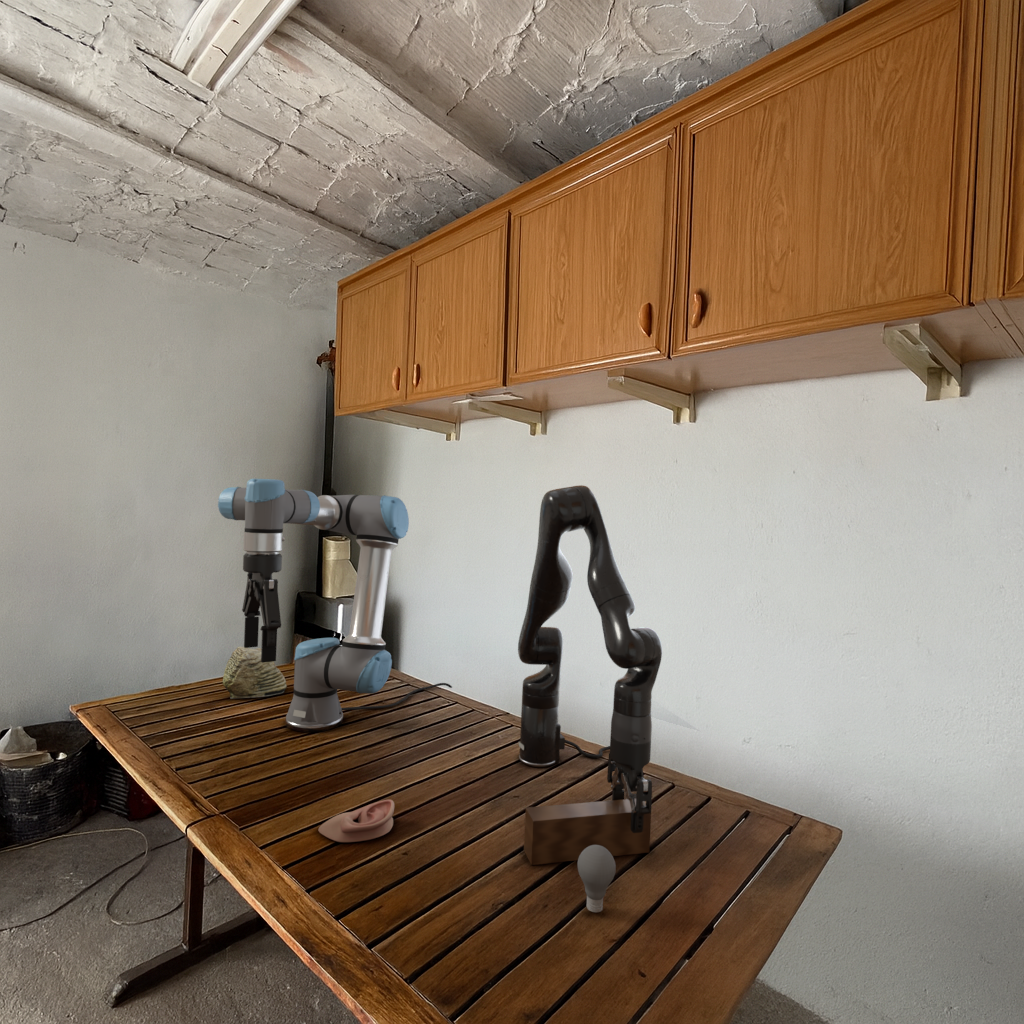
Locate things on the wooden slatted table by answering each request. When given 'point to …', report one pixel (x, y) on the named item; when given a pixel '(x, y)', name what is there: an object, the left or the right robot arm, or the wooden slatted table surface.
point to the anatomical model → (360, 823)
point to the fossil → (252, 675)
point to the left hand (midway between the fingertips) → (259, 654)
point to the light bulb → (596, 874)
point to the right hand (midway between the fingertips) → (626, 820)
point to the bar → (582, 830)
